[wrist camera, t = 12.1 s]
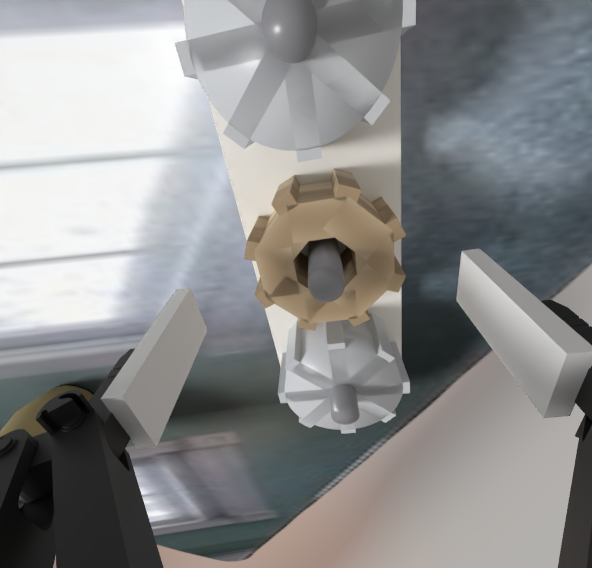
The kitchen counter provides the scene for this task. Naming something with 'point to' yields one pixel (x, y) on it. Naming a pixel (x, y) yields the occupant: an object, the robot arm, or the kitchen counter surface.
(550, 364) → the robot arm
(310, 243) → the gear board
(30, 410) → the squeeze bottle
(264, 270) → the wooden gear
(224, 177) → the kitchen counter surface
